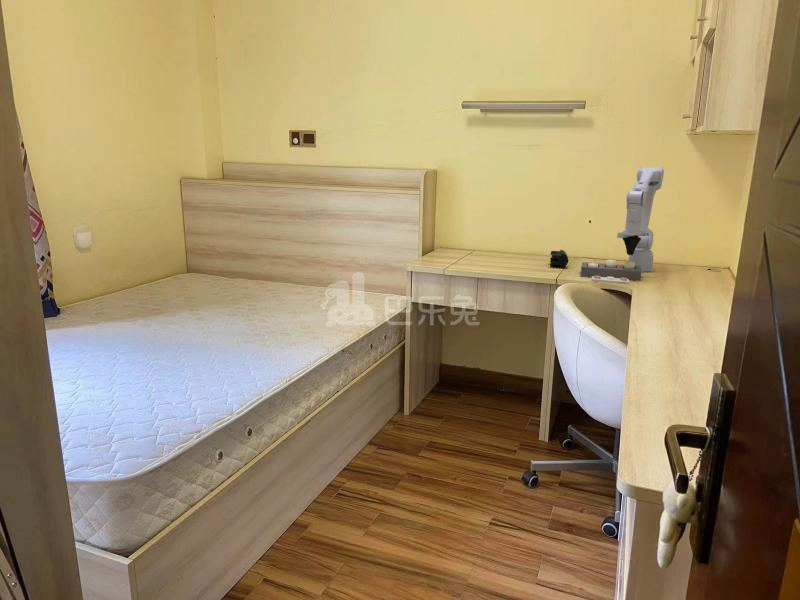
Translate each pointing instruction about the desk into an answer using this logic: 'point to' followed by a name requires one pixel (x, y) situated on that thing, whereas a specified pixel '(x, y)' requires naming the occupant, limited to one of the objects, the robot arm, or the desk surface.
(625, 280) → the pattern card
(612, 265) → the button
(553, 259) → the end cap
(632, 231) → the robot arm
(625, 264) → the button
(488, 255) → the desk surface
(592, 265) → the button
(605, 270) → the grey slotted tray
